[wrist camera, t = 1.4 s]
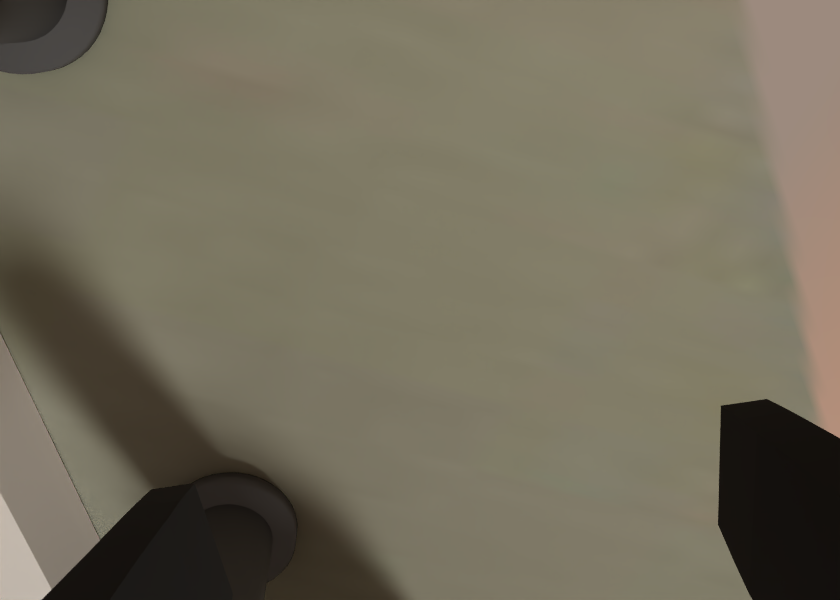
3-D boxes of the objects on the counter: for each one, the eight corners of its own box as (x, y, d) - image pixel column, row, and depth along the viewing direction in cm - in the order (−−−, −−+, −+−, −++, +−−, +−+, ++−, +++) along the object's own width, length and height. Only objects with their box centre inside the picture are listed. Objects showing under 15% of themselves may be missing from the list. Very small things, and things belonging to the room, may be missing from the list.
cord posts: (191, 590, 24) (102, 905, 15) (-107, -93, 16) (-601, -213, 8) (311, 561, 24) (289, 860, 15) (68, -135, 16) (-237, -300, 8)
